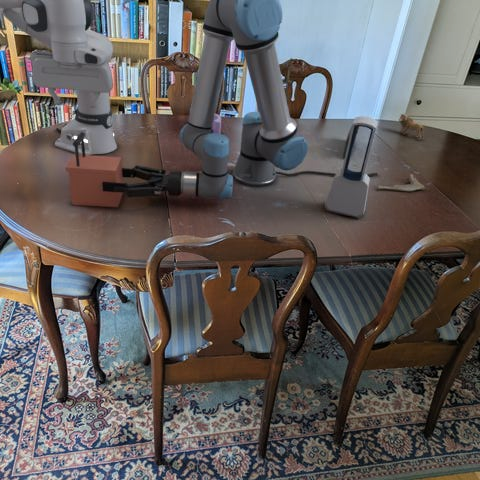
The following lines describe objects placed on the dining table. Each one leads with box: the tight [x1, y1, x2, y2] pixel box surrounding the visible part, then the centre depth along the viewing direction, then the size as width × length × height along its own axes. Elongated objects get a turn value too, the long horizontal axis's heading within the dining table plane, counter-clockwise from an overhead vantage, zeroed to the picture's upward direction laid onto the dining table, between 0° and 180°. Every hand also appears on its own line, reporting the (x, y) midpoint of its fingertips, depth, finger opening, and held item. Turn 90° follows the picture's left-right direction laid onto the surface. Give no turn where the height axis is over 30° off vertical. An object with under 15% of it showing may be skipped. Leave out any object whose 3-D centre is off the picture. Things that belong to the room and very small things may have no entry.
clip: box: [189, 107, 222, 134], centre depth 199 cm, size 20×12×7 cm, turn 23°
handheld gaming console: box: [342, 123, 360, 159], centre depth 194 cm, size 23×3×10 cm, turn 161°
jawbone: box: [376, 173, 426, 193], centre depth 169 cm, size 9×20×2 cm, turn 126°
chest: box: [68, 162, 124, 208], centre depth 140 cm, size 13×10×11 cm
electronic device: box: [324, 115, 379, 219], centre depth 142 cm, size 12×8×30 cm, turn 71°
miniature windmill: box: [279, 57, 293, 108], centre depth 207 cm, size 9×8×30 cm
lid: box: [65, 132, 123, 175], centre depth 135 cm, size 14×10×9 cm
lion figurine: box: [398, 113, 425, 141], centre depth 218 cm, size 15×5×9 cm, turn 50°
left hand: (75, 105), depth 127 cm, fingers open, 8 cm apart
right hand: (106, 178), depth 139 cm, fingers closed on chest, 9 cm apart
